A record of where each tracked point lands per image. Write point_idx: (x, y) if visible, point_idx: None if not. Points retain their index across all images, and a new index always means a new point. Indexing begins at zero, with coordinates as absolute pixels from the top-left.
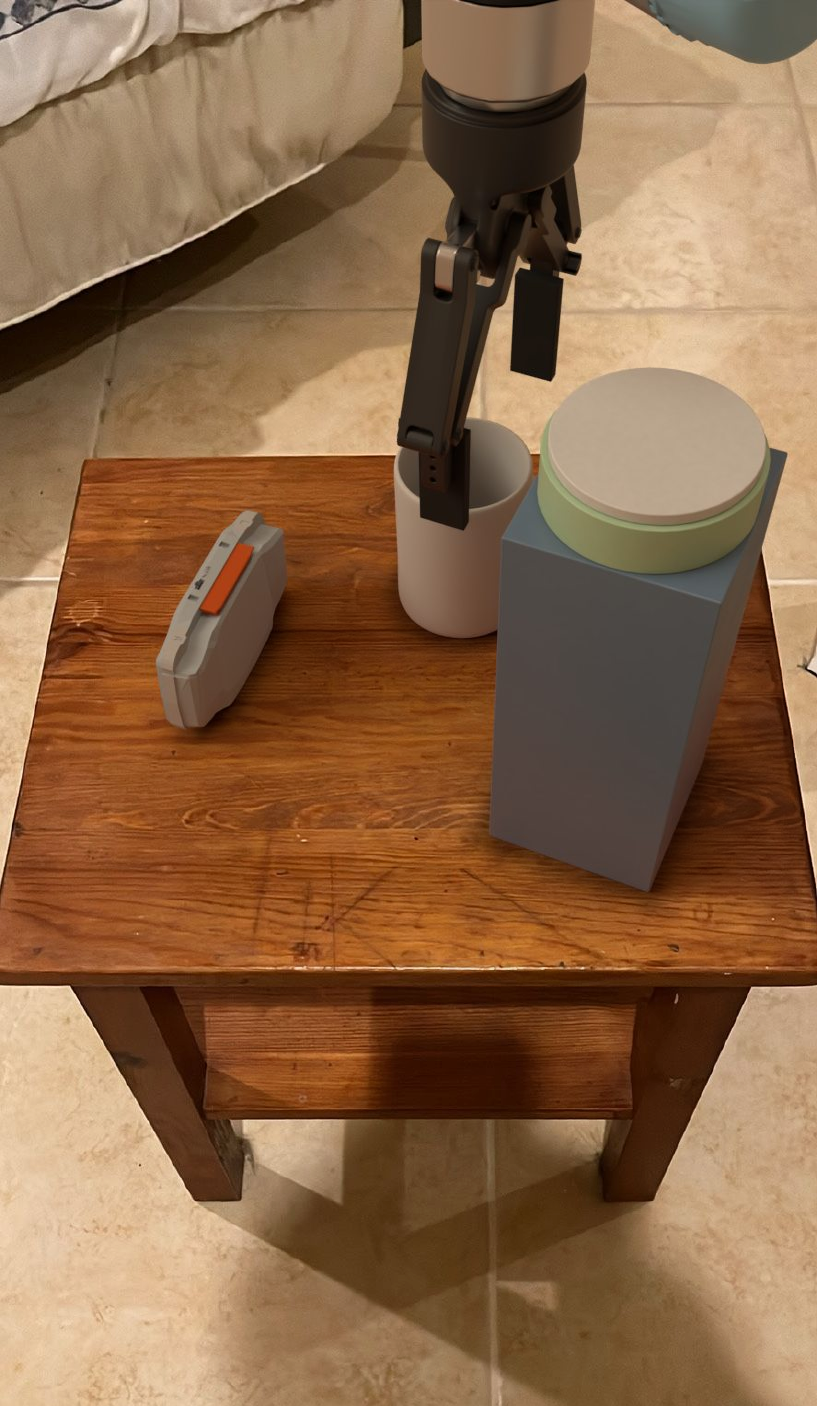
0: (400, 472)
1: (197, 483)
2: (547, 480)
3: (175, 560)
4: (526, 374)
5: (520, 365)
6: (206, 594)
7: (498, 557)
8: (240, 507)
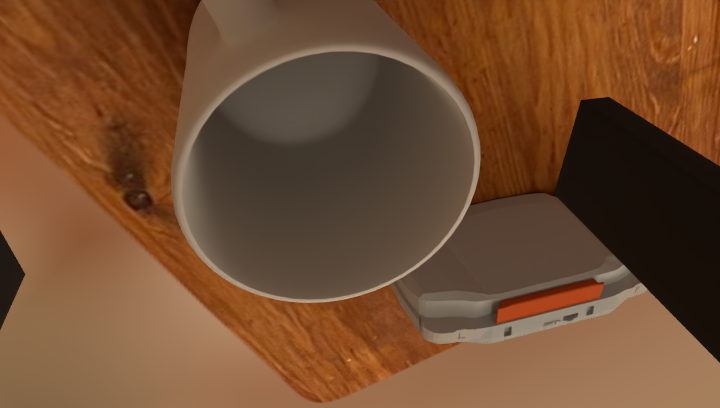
0: (373, 263)
1: (283, 360)
2: None
3: (382, 320)
4: (2, 237)
5: (4, 270)
6: (581, 304)
7: (386, 15)
8: (292, 320)
